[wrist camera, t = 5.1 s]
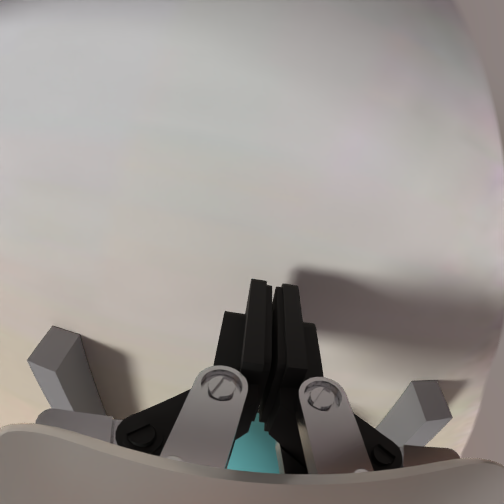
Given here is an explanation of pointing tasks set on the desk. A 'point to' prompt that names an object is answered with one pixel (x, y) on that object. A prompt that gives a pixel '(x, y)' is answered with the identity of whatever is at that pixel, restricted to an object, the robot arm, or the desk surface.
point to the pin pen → (88, 401)
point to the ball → (255, 451)
